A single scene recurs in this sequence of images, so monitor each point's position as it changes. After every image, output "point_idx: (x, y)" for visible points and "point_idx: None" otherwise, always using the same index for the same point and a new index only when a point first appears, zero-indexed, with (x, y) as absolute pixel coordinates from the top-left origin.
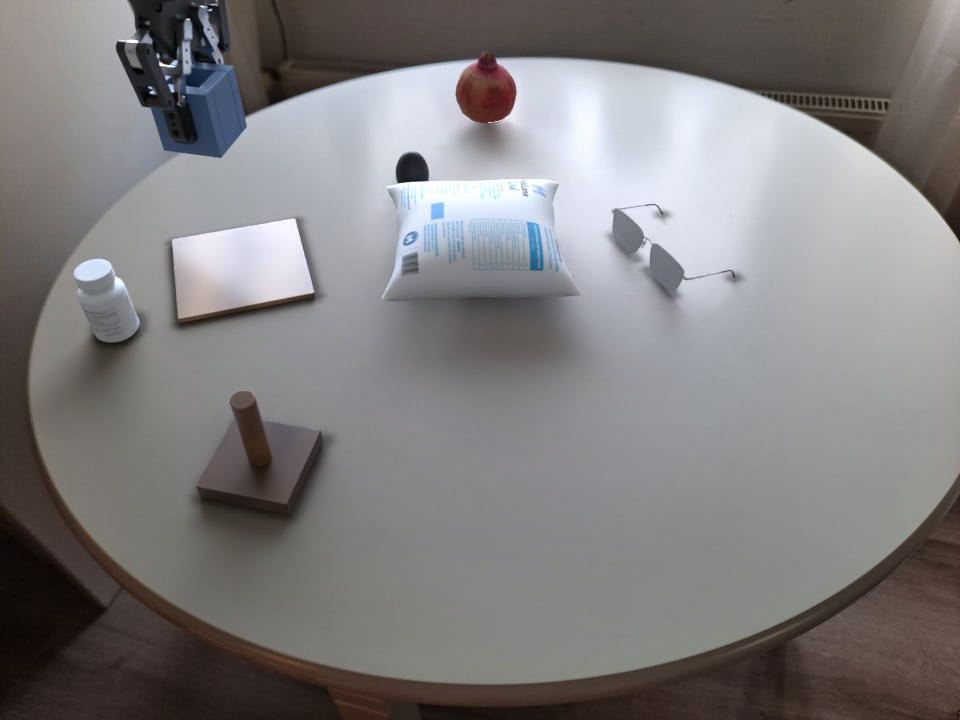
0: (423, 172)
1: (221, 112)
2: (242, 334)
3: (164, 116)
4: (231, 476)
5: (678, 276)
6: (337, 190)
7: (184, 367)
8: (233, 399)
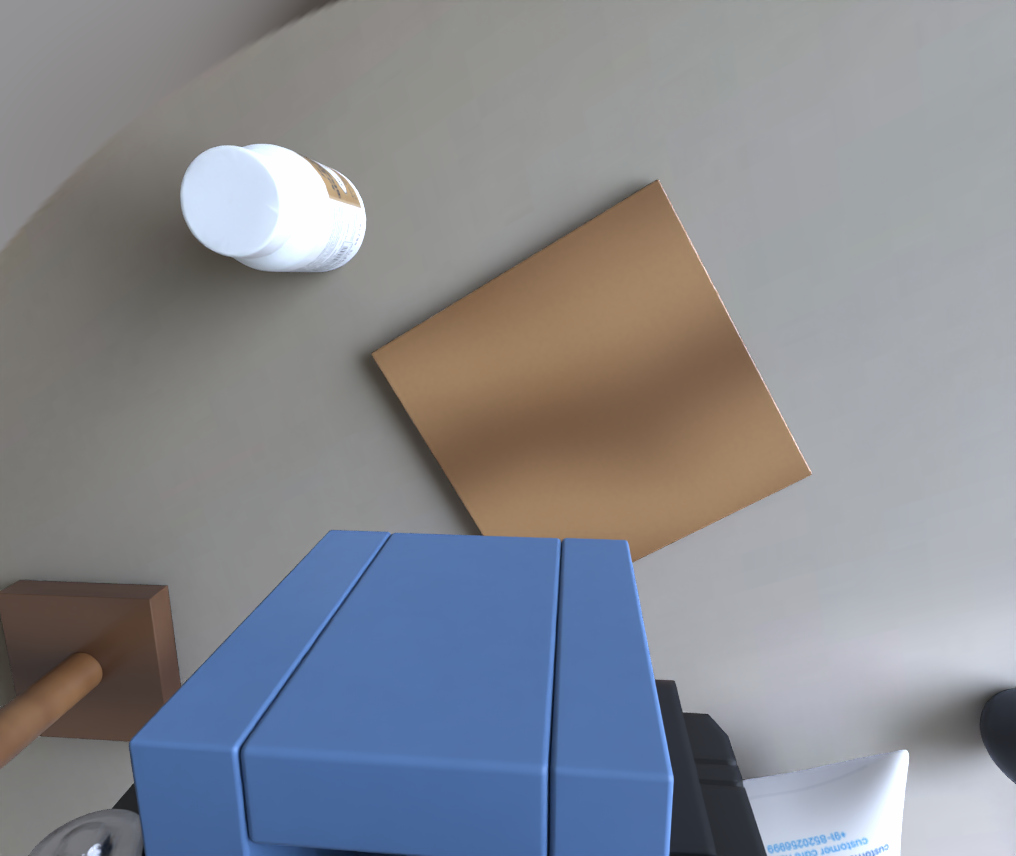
0: None
1: None
2: (382, 499)
3: (129, 790)
4: (34, 639)
5: None
6: (978, 530)
7: (261, 424)
8: None
